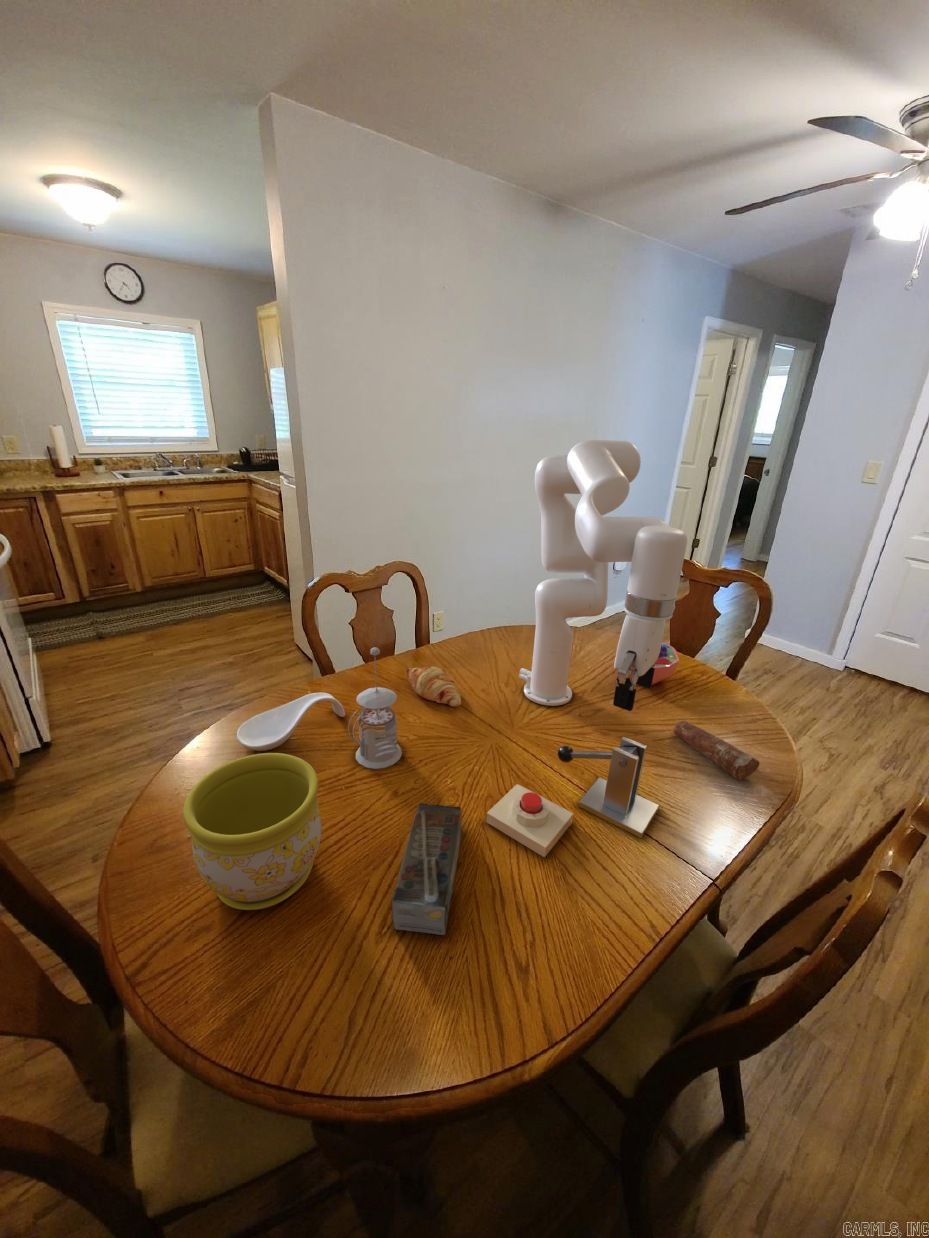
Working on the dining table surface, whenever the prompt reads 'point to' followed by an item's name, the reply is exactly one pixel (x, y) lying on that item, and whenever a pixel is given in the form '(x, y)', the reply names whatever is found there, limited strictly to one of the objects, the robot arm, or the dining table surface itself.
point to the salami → (717, 750)
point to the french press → (377, 713)
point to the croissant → (434, 685)
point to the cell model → (663, 663)
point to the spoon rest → (280, 722)
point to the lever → (589, 753)
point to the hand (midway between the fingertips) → (632, 696)
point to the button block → (530, 821)
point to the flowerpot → (255, 828)
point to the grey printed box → (428, 870)
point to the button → (531, 803)
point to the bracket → (622, 792)
